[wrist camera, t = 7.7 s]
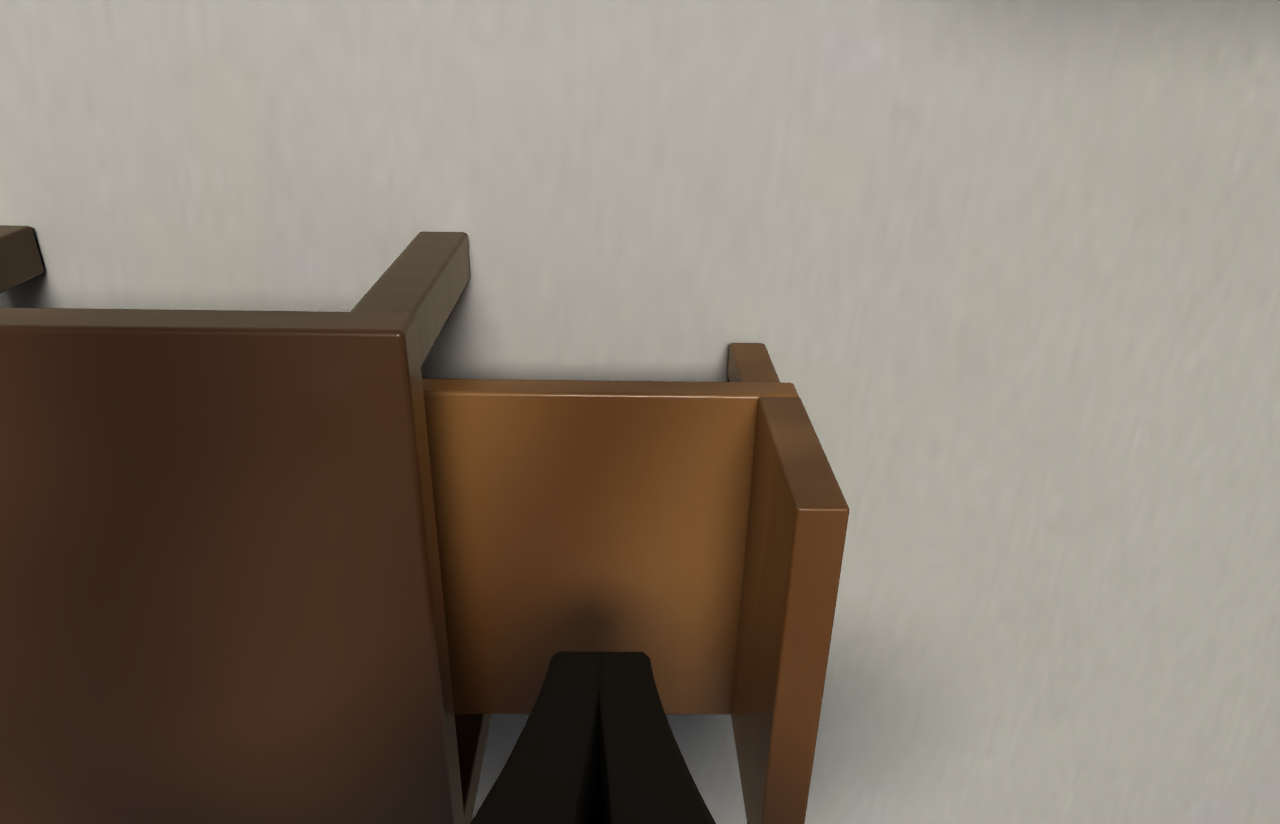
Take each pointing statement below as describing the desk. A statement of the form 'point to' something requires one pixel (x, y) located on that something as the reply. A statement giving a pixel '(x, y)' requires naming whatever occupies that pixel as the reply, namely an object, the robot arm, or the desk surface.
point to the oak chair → (645, 550)
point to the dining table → (226, 561)
